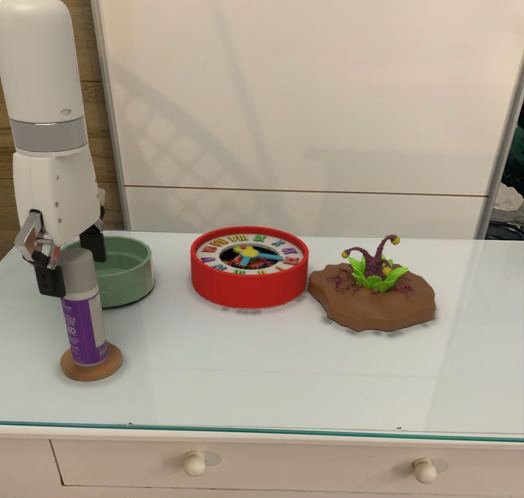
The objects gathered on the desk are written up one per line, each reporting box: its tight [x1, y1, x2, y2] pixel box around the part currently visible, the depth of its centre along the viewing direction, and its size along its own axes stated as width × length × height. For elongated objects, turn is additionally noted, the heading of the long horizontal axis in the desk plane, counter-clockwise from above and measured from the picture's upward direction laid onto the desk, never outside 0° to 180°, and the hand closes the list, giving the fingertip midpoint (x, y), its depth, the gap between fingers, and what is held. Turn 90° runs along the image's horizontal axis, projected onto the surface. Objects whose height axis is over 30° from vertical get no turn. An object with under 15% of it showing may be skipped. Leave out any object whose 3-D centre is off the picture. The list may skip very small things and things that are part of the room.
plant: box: [307, 234, 437, 332], centre depth 90 cm, size 20×20×11 cm
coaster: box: [59, 341, 123, 382], centre depth 75 cm, size 8×8×1 cm
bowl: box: [60, 235, 155, 308], centre depth 91 cm, size 15×15×6 cm
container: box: [57, 248, 109, 367], centre depth 71 cm, size 5×5×15 cm
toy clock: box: [189, 225, 310, 310], centre depth 95 cm, size 20×6×20 cm
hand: (75, 276), depth 69 cm, fingers open, 9 cm apart
